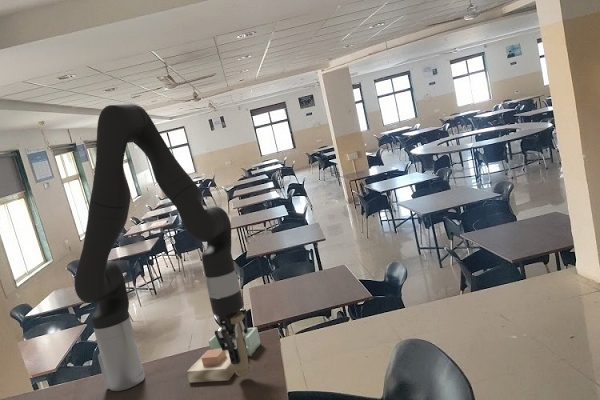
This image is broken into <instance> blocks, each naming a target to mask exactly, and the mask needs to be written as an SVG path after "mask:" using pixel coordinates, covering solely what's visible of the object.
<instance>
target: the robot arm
mask: <svg viewBox="0 0 600 400" xmlns="http://www.w3.org/2000/svg"><path fill="white" fill-rule="evenodd" d="M130 143H131V144H132V143H133V144H135V146H137V147H138V148H139V149H140V150H141V151H142V152H143V154H144V155H145V156H146V157H147V159H148V161H149V163H150V166H151V169H152V172H153V175H154V179H155V181H156V183H157V185H158V187H159V188H160V190H161V191H162V192H163V194H164V195H165V196H166V197H167V198H168V199H169V201H170V202H171V203H172V205H173V206H174V207H175V208H176V210H177V212H178V215H179V217H180V218H181V221H182V223H183V225H184V228H185V229H186V231H187V232H188V233H189V235H190V236H191V237H192V238H193V239H194V240H196V241H198V242H201V243H206V248H205V250H204V252H203V253H202V255H201V261H202V262H201V263H202V266H203V270H204V274H205V282H206V283H205V284H206V289H207V293H208V297H209V301H210V307H211V311H212V314H214V315H215V316H217V317H218V316H219V323H218V324H219V328H218V329H215V330H214V335H216V338H217V340H218V342H219V344H220V346H221V349H222V350H223V351H225V350H228V352H229V356H230V361H231V363H232V364H239V363H240V357H239V352H238V348H237V341H236V339H237V338H238V332H237V325H238V324H236V323H235V324H231V321H230V319H231V318H232V317H233V316H234V315H235V314H236V313H237V312H238V311H239V312H243V315H244V318H243V320H242V321H241V322H239V326H240V330H241V334H242V337H243V341H244V344H245V347H246V343H245V338H246V336H245V334H246V333H248V328H249V327H248V317H247V316H248V315H247V309H246V308H243V307H244V306H245V305H244V304H245V303H244V299H243V295H242V291H241V287H240V286H241V285H240V282H239V277H238V274H237V272H236V269H235V264H234V258H233V255H232V225H231V221H230V217H229V216H228V213H227V212H226V211H225V210H224V209H223V208H221V207H219V206H212V207H208V208H206V209H205V208H204V206H203V205H202V203H201V201H200V200H202V198H203V193H202V192H203V191H202V190H201V189H200V187H199V186H198V185H197V183H196V182H195V181H194V180H193V178H192V177H191V176H190V175H189V174H188V173H187V172H186V170H185V169H184V168H183V167H182V165H181V164H180V163H179V161H178V160H177V159H176V157H175V156H174V154H173V153H172V151H171V150H170V148H169V147H168V145H167V144H166V142H165V140H164V138H163V137H162V135H161V134H160V132H159V130H158V129H157V126H156V125H155V123H154V121H153V120H152V118H151V116H150V115H149V114H148V112H147V111H146V110H145V109H144V108H143V107H142V106H141V105H139V104H135V103H112V104H108V105H106V106H105V107H104V108H103V109H102V110H101V111H100V114H99V116H98V120H97V129H96V149H95V150H96V151H95V153H96V155H95V164H94V165H95V167H94V174H93V182H92V189H91V194H90V198H89V199H90V200H89V205H88V215H87V222H86V228H85V233H84V234H85V235H84V238H83V239H84V240H83V245H82V249H81V253H80V257H79V261H78V265H77V267H76V273H75V276H74V290H75V293H76V295H77V297H78V298H79V299H80V301H81V302H82V303H85V304H94V303H97V302H98V304H97V307H96V309H95V311H94V312H93V314H92V315H91V324H92V328H93V331H94V332H93V333H94V336H95V340H96V343H97V346H98V350H99V354H98V355H97V359H98V362H99V367H100V371H101V374H102V379H103V382H104V385H105V388H106V390H110V391H112V392H121V391H122V392H123V391H125V390H128V389H131V388H133V387H136V386H137V385H138V384H140V383H141V382H143V381H144V379H145V378H146V376H145V372H144V367H143V363H142V359H141V355H140V353H139V348H138V345H137V340H136V336H135V333H134V328H133V326H132V322H131V321H132V320H131V317H130V313H129V308H130V307H129V306H130V303H129V302H130V301H129V295H128V291H127V290H128V289H127V286H126V281H125V277H124V273H123V271H122V269H121V267H120V266H119V265H118V264H117V263H116V262H115V261H114V260H111V259H109V256H110V253H111V251H112V249H113V247H114V245H116V242H117V241H118V239H119V237H120V236H121V234H122V233H123V230H124V228H125V226H126V224H127V220H128V216H129V210H130V204H131V199H132V198H131V190H130V186H129V183H128V180H127V178H126V175H125V171H124V169H125V168H124V162H125V161H124V160H125V154H126V149H127V145H128V144H130ZM228 334H233V335H232V336H229V335H228ZM230 339H232V342H233V344H232V342H231V340H230ZM224 343H225V344H224ZM246 351H247V348H246Z"/></svg>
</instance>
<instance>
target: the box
mask: <svg viewBox="0 0 600 400" xmlns="http://www.w3.org/2000/svg"><path fill="white" fill-rule="evenodd" d="M259 334H260V333H259V331H258V327H257V326H256V327H255V326H254V327H248V333H246V334H245V336H246V338H245V343H246V348H247V357H252V356H253V355H254V353H255V352H256V351H257V349H258V348H260V345H262V343H261V339H260V335H259ZM224 344H225V343H224ZM208 345H209V348H210V349H209V350H213V349H221V346H220V344H219V342H218V340H217V338H216V335H215V334H214V335H213V336H212V337H211V338H210V339H209V340H208Z"/></svg>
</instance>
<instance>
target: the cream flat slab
mask: <svg viewBox="0 0 600 400" xmlns="http://www.w3.org/2000/svg"><path fill="white" fill-rule="evenodd" d="M209 350H210V349H208V350H206V351H205V352H204V353H203V354H202V355H201V356H200V358H198V360H196V361H195V363H194V364H192V365H191V367H190V368H189V369H188V370H187V371H186V374H187V378H188V382H189V383H191V384H192V383H203V382H204V383H206V382H222V381H230V380H231V378H232V377H233V376H234V375H235V374H236V373H235V369H234V366H233V364H232V363H231V361H230V356H229V352H228V350H225V353H226V357H225V358H224V359H223V360H222V361H221V363H220V364H216V365H203V363H202V359H201V358H202V357H203V356H204V355H205V354H206V353H207V352H208V351H209ZM213 350H216V349H213Z"/></svg>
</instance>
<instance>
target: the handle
mask: <svg viewBox="0 0 600 400" xmlns="http://www.w3.org/2000/svg"><path fill="white" fill-rule="evenodd" d="M243 318H244V315H243V312H239V311H238V312H237V313H236V314H235V315H234V316H233V317H232V318H231V319H230V321H231V324H235V323H236V324H238V325H237V332H238V338H237V339H236V341H237V348H238V352H239V357H240V363H239V364H233V366H234V369H235V373H234V374H235V375H236V376H238V377H244V376H247V375H248V374H249V373H250V367H249V358H248V357H249V356H248V357H247V351H246V347H245V344H244V341H243V337H242V334H241V330H240V326H239V322H241V321H242V320H243ZM216 320H217V321H216V322H217V323H218V324H219V316H217V317H216ZM228 335H229V336H232V335H233V334H228ZM230 340H231V342H232V339H230ZM232 344H233V342H232Z"/></svg>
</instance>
